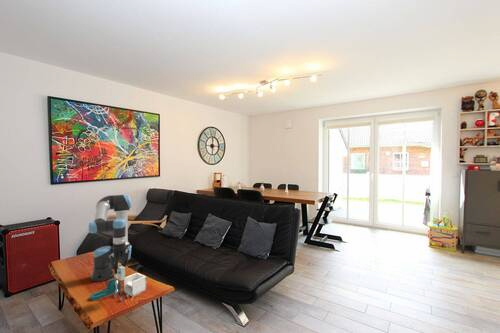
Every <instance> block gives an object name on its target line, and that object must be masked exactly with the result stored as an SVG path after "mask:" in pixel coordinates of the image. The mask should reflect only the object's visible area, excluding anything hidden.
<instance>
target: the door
mask: <svg viewBox="0 0 500 333" xmlns="http://www.w3.org/2000/svg"><path fill="white" fill-rule="evenodd" d="M118 269H119V272H118V274H119V279H118V281H120V282H121V281H124V279H125V277H126V266H125V267H123V266H122V265H121V264H119V263H118ZM113 277H114V279H117V278H116V274H115V273H114V272H113Z"/></svg>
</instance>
